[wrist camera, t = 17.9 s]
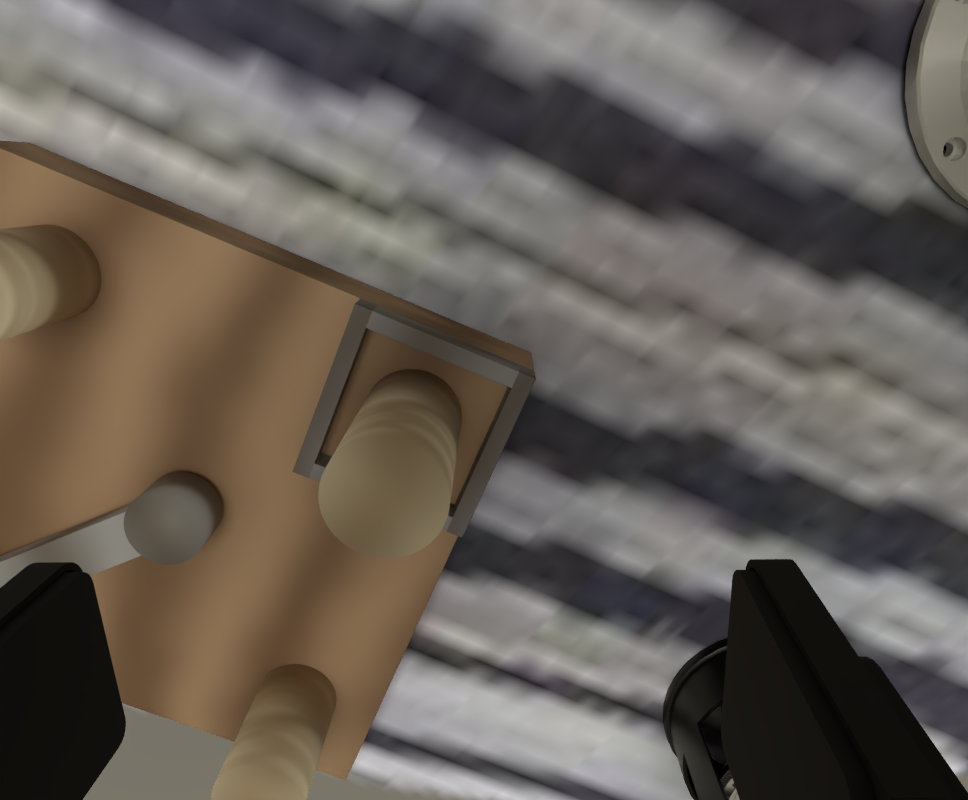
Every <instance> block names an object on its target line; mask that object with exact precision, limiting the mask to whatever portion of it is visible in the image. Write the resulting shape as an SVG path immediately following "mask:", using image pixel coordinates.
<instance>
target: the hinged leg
mask: <svg viewBox="0 0 968 800" xmlns="http://www.w3.org/2000/svg"><path fill="white" fill-rule="evenodd" d="M221 518H222V503H221V500H220V497H219V495H218V493H217V492H216V490H215V489H214V488H213V487H212V486H211V485H210V484H209V483H208V482H207V481H206V480H204V479H203V478H201V477H199V476H197V475H194V474H191V473H186V472H173V473H169V474H166V475H164V476H162V477H160V478H159V479H157V480H156V481H155V482H154V483H153V484H152V485H151V486H150V487H148V488H147V489H146V490H145V491H144V492H143V493H142V494H141V495H140V496H138V497H137V498H136V499H135V500H134V501H133V502H132V503H131V504H129V505H126V506H124V507H121V508H119V509H117V510H114V511H112V512H109V513H107V514H104V515H102V516H99V517H97V518H94V519H92V520H89V521H87V522H84V523H82V524H79V525H77V526H74V527H72V528H69V529H67V530H64V531H62V532H59V533H57V534H54V535H52V536H50V537H47V538H45V539H42V540H40V541H37V542H35V543H32V544H30V545H27V546H25V547H22V548H20V549H17V550H15V551H12V552H10V553H7V554H5V555H2V556H0V588H1V587H2V586H3V585H4V584H6V583H7V582H8V581H9V580H10V579H12V578H13V577H14V576H15V575H17V574H18V573H19V572H20V571H22V570H23V569H24V568H25V567H26V566H28V565H30V564H32V563H38V562H73V563H76V564H78V565H79V566H80V568H81V569H82V571H83V572H86V573H88V574H89V575H93V574H96V573H98V572H101V571H103V570H106V569H108V568H111V567H113V566H116V565H119V564H121V563H124V562H126V561H129V560H131V559H134V558H136V557H139V556H143V557H145V558H146V559H148V560H150V561H153V562H156V563H159V564H166V565H173V564H179V563H183V562H185V561H187V560H189V559H191V558H192V557H193V556H195V555H196V554H197V552H198V551H199V550H200V549H201V547H202V546H203V545H204V544H205V542H206V541H207V540H208V539H209V537H210V536H211V535H212V534H213V532H214V531H215V530H216V528H217V527H218V525H219V524H220V521H221Z"/></svg>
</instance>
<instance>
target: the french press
mask: <svg viewBox="0 0 968 800" xmlns="http://www.w3.org/2000/svg"><path fill="white" fill-rule="evenodd" d="M727 642H728V639H726V640H723V641H720V642H717V643H715V644H714V645H712V646H710V647H708V648H706V649H704V650H703V651H701V652H700V653H699V654H697V655H696V656H695V657H694V658H692V659H691V660H690V661H689V662H687V663H686V665H685V666H684V667H683V668H682V669H681V670H680V672H679V673H678V674H677V675H676V677H675V679H674V680H673V682H672V684H671V686H670V688H669V690H668V693H667V696H666V700H665V703H664V713H663V722H664V728H665V733H666V737H667V740H668V742H669V744H670V746H671V749H672V751H673V752H674V754H675V755H676V756H677V758H678V761H679V764H680V768H681V771H682V774H683V777H684V780H685V783H686V785H687V788H688V790H689V792H690V794H691V796H692V798H693V799H694V800H740V799H739V796H738V793H737V790H736V787H735V784H734V781H733V778H732V775H731V772H730V769H729V766H728V763H726V764H723V763H720V762H718V761H717V760H715V759H713V758H712V756H711V753H710V750H709V747H708V745H707V742H706V739H705V737H704V734H703V731H702V729H701V726H700V725H701V724H702V722H703V721H704V720H705V719H706V718H707V717H708V716H709V715H710V713H711V712H713V711H714V710H715V709H717V708H718V707H719V706H720V705H722V704H723V692H724V679H725V667H726V654H727Z"/></svg>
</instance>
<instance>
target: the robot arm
mask: <svg viewBox="0 0 968 800" xmlns="http://www.w3.org/2000/svg"><path fill="white" fill-rule="evenodd" d="M905 102H906V109H907V116H908V123H909V129H910V132H911V134H912V137H913V140H914V143H915V146H916V148H917V151H918V154H919V157H920V158H921V160H922V161H923V163H924V165H925V166H926V168H927V169H928V171H929V172H930V174H931V176H932V177H933V179H934V180H935V181H936V182H937V183H938V184H939V185H940V186H941V187H942V188H943V189H944V190H945V191H946V192H947V193H948V194H949V195H950V196H951V197H952V198H953V199H954V200H955V201H957V202H958V203H960V204H961V205H963V206H965V207H966V208H968V0H925V3H924V5H923V8H922V10H921V13H920V15H919V18H918V20H917V23H916V25H915V28H914V31H913V35H912V40H911V44H910V49H909V53H908V58H907V63H906V81H905ZM944 145H946V148H947V150H946V153H945V154H943V148H944ZM125 724H126V721H125V715H124V710H123V706H122V702H121V698H120V693H119V689H118V685H117V681H116V677H115V672H114V668H113V664H112V660H111V655H110V651H109V647H108V643H107V638H106V634H105V630H104V626H103V621H102V617H101V613H100V609H99V604H98V600H97V596H96V592H95V588H94V583H93V580H92V578H91V576H90V575H89V574H88V573H86V572H83V571H82V569H81V568H80V566H79V565H78V564H76V563H73V562H38V563H32V564H30V565H28V566H26V567H25V568H24V569H23V570H22V571H20V572H19V573H18V574H17V575H15V576H14V577H13V578H12V579H10V580H9V581H8V582H7V583H6V584H4V585H3V586H2V587H1V588H0V800H83V798H84V797H85V795H86V794H87V792H88V791H89V790H90V788H91V787H92V785H93V784H94V782H95V781H96V779H97V778H98V777H99V775H100V774H101V772H102V771H103V769H104V768H105V767H106V765H107V764H108V762H109V760H110V759H111V758H112V756H113V755H114V754H115V752H116V750H117V749H118V748H119V746H120V744H121V742H122V740H123V737H124V733H125V726H126V725H125ZM721 738H722V745H723V750H724V754H725V757H726V760H727V763H728V766H729V769H730V772H731V775H732V778H733V781H734V784H735V787H736V790H737V793H738V796H739V799H740V800H968V793H967V791H966V790H965V788H964V787H963V785H962V784H961V782H960V781H959V780H958V778H957V777H956V775H955V774H954V772H953V771H952V770H951V768H950V767H949V765H948V764H947V762H946V761H945V760H944V758H943V757H942V755H941V754H940V752H939V751H938V750H937V748H936V747H935V745H934V744H933V742H932V741H931V740H930V738H929V737H928V735H927V734H926V732H925V731H924V729H923V728H922V727H921V725H920V724H919V722H918V721H917V719H916V718H915V717H914V715H913V714H912V712H911V711H910V709H909V708H908V707H907V705H906V704H905V702H904V701H903V699H902V698H901V697H900V695H899V694H898V692H897V691H896V689H895V688H894V687H893V685H892V684H891V682H890V681H889V679H888V678H887V677H886V675H885V674H884V672H883V671H882V669H881V668H880V667H879V666H878V665H877V664H876V662H875V661H874V660H872V659H870V658H868V657H858V655H857V654H856V652H855V651H854V649H853V648H852V646H851V645H850V643H849V642H848V640H847V639H846V637H845V636H844V634H843V633H842V631H841V630H840V628H839V627H838V625H837V624H836V622H835V621H834V619H833V618H832V616H831V615H830V613H829V612H828V610H827V609H826V607H825V606H824V604H823V603H822V601H821V600H820V599H819V597H818V596H817V594H816V593H815V591H814V590H813V588H812V587H811V585H810V584H809V582H808V581H807V579H806V578H805V576H804V575H803V573H802V572H801V570H800V569H799V567H798V566H797V564H796V563H795V562H794V561H793V560H790V559H766V560H749V561H748V563H747V566H746V570H736V571H735V572H734V574H733V580H732V591H731V604H730V617H729V629H728V642H727V654H726V667H725V679H724V692H723V704H722V717H721Z"/></svg>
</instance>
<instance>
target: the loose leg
mask: <svg viewBox="0 0 968 800" xmlns="http://www.w3.org/2000/svg"><path fill="white" fill-rule="evenodd" d="M461 421H462V413H461V407H460V403H459V400H458V398H457V396H456V394H455V392H454V391H453V390H452V388H451V387H450V386H449V385H448V384H447V383H446V382H445V381H444V380H443V379H441V378H440V377H438V376H437V375H435V374H432V373H430V372H427V371H424V370H419V369H404V370H398V371H395V372H392V373H390V374H388V375H386V376H385V377H383V378H382V379H381V380H379V381H378V382H377V383H376V384H375V385H374V387H373V388H372V389H371V391H370V393H369V394H368V396H367V398H366V399H365V401H364V403H363V405H362V406H361V408H360V410H359V411H358V413H357V415H356V417H355V418H354V420H353V422H352V423H351V425H350V427H349V429H348V430H347V432H346V434H345V435H344V437H343V439H342V441H341V442H340V444H339V446H338V447H337V449H336V451H335V453H334V454H333V456H332V458H331V459H330V461H329V463H328V465H327V466H326V468H325V470H324V472H323V474H322V477H321V480H320V483H319V490H318V500H319V507H320V511H321V514H322V517H323V519H324V521H325V523H326V525H327V526H328V528H329V529H330V531H331V532H332V533H333V534H334V536H335V537H336V538H337V539H339V540H340V541H341V542H342V543H343V544H345V545H346V546H347V547H349V548H351V549H352V550H354V551H356V552H359V553H361V554H364V555H367V556H371V557H376V558H398V557H404V556H407V555H410V554H413V553H415V552H417V551H419V550H421V549H423V548H424V547H426V546H427V545H428V544H430V543H431V542H432V541H433V540H434V539H435V538H436V537H437V536H438V534H439V533H440V531H441V530H442V528H443V526H444V525H445V522H446V520H447V517H448V513H449V508H450V501H451V493H452V486H453V479H454V472H455V465H456V458H457V451H458V443H459V436H460V429H461Z"/></svg>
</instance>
